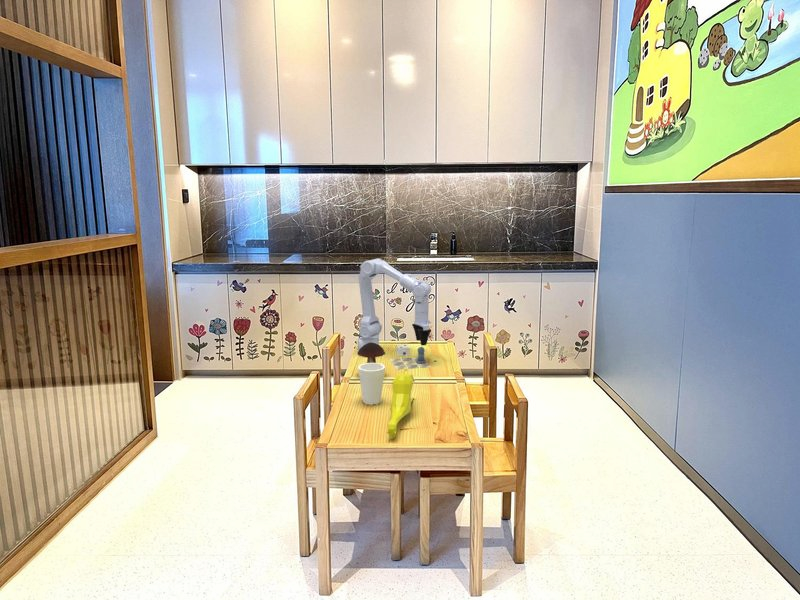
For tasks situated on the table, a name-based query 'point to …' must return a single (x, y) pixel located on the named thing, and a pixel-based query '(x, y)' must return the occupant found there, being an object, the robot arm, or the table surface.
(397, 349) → the die
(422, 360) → the pawn
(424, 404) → the table surface
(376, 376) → the foam cup
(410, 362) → the board
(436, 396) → the table surface
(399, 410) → the banana
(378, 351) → the decorative mushroom
